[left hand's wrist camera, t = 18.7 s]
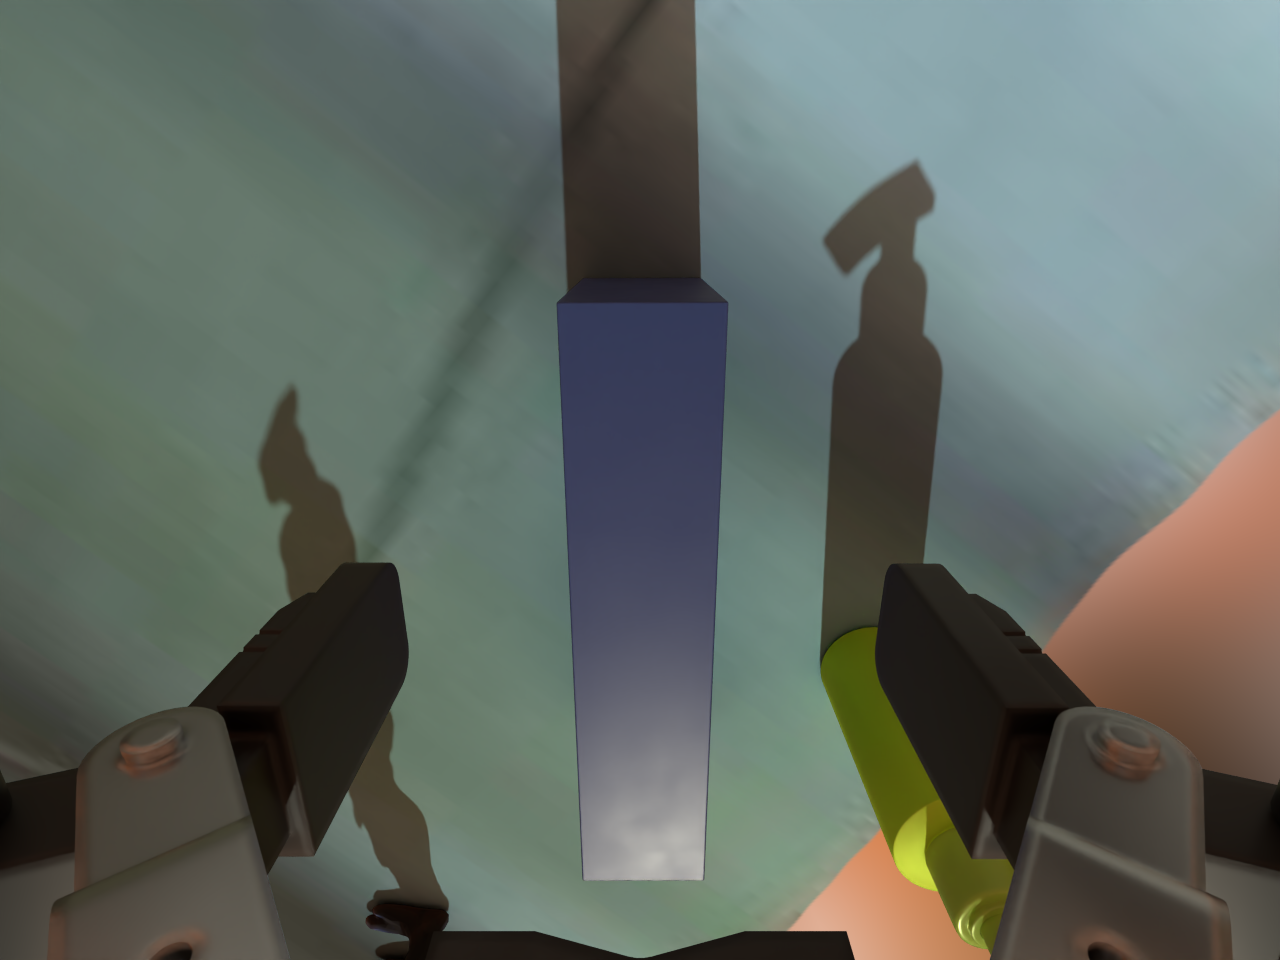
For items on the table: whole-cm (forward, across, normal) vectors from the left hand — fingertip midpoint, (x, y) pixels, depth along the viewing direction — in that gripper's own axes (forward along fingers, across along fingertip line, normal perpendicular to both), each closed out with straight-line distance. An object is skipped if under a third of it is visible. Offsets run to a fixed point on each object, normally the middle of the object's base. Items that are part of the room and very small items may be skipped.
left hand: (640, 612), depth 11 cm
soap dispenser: (+26, -14, +20) cm, 36 cm away
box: (+26, 0, +10) cm, 28 cm away
